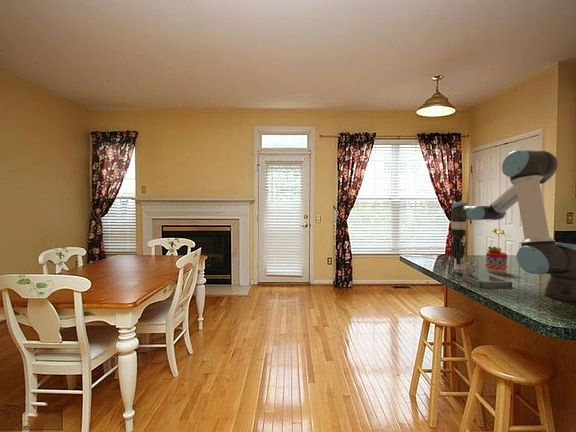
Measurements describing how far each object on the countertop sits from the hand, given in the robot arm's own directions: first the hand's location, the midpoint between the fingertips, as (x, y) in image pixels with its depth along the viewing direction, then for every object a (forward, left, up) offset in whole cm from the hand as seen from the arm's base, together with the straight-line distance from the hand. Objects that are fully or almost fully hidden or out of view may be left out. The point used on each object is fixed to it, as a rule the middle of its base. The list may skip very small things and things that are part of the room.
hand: (456, 269), depth 189 cm
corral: (-26, 0, -1) cm, 26 cm away
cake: (+1, -24, -2) cm, 24 cm away
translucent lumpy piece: (-10, 0, -2) cm, 10 cm away
